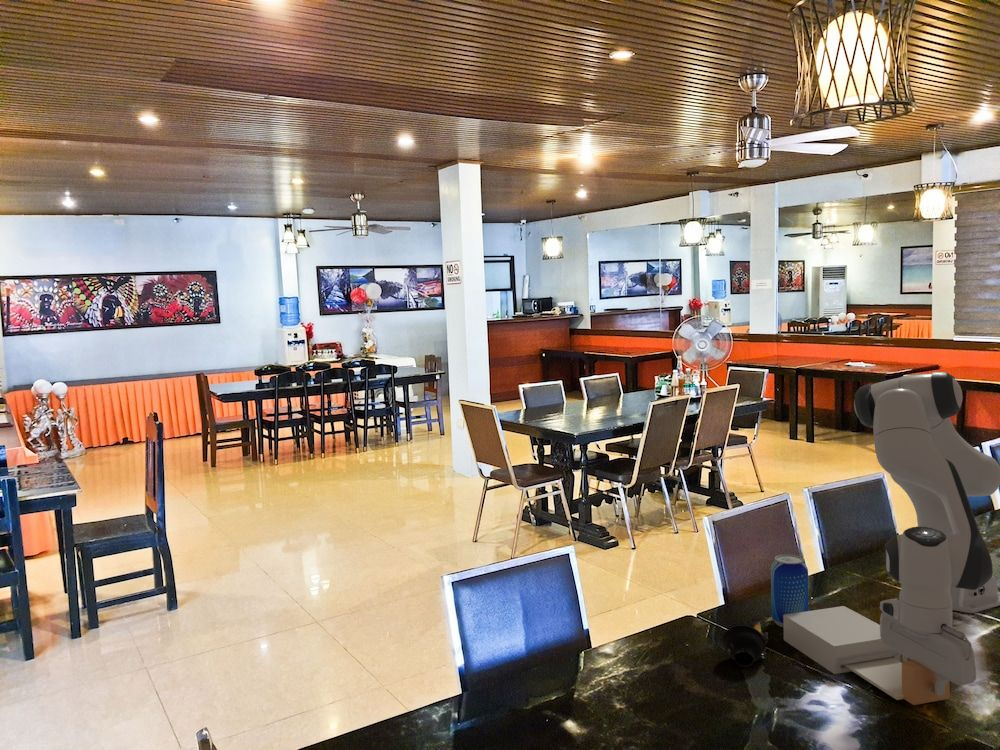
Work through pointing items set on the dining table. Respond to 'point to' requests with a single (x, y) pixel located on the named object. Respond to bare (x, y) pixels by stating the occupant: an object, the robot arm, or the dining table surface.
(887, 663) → the tan-tipped white bar
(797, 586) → the beer can
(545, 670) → the dining table surface
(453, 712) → the dining table surface
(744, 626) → the fried shrimp in bowl
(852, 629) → the block
